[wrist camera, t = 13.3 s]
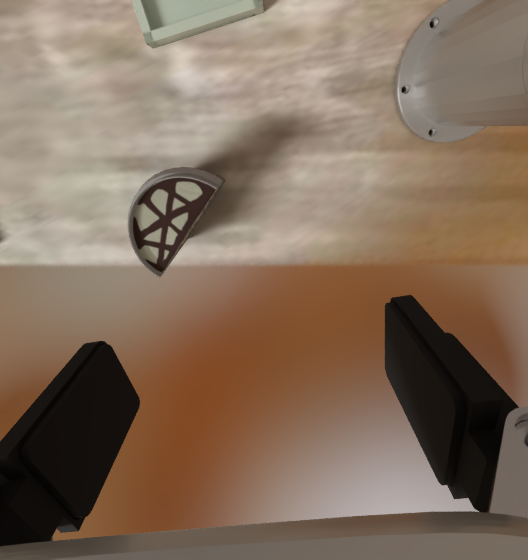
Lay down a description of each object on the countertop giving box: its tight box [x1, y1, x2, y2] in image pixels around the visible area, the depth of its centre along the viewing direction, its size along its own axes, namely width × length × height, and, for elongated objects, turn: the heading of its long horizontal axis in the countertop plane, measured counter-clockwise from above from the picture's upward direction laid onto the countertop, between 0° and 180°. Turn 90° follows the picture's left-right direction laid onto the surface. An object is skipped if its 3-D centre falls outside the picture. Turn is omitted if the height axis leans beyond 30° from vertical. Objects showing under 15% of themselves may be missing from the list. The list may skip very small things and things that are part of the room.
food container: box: [128, 167, 225, 278], centre depth 32 cm, size 12×6×10 cm, turn 144°
